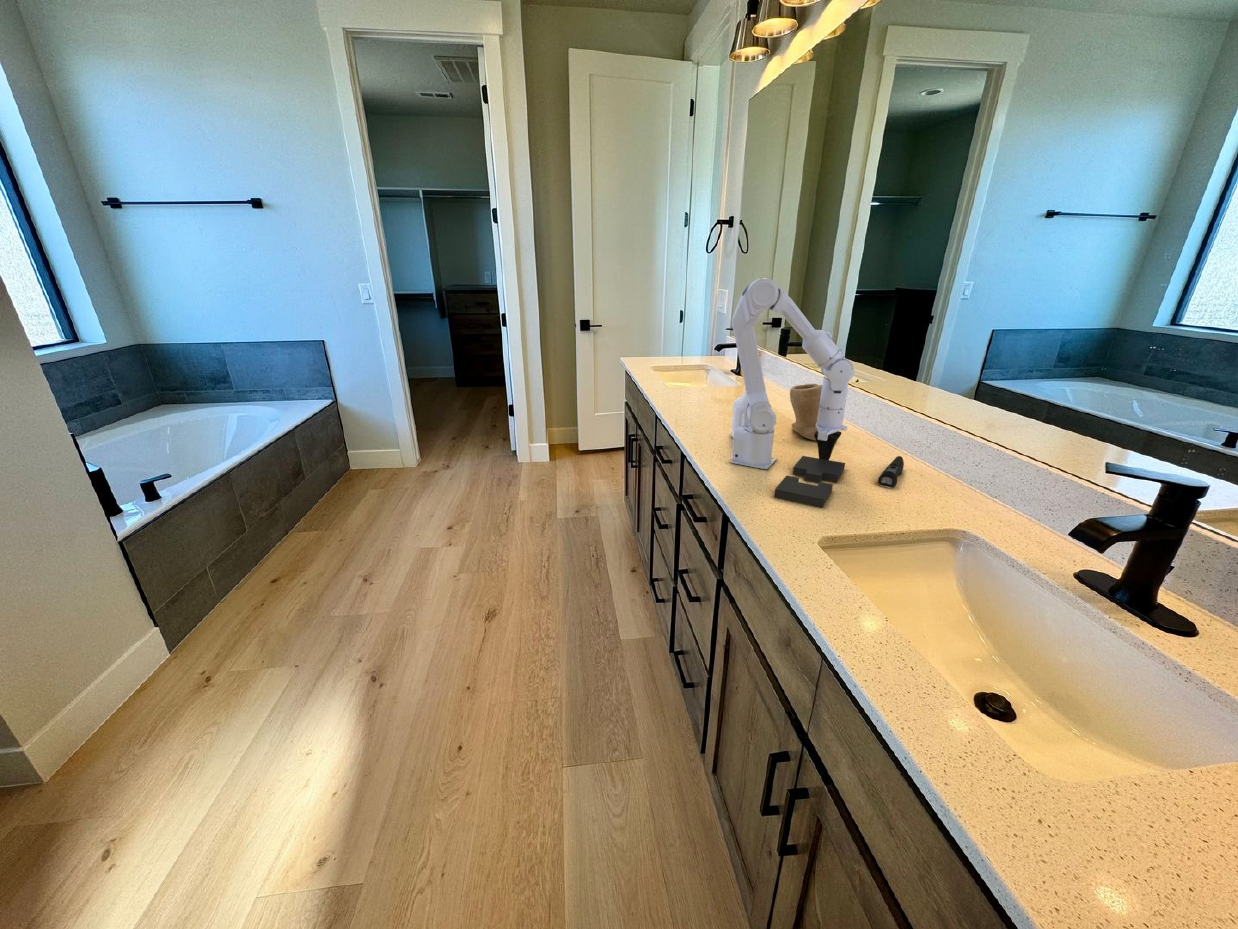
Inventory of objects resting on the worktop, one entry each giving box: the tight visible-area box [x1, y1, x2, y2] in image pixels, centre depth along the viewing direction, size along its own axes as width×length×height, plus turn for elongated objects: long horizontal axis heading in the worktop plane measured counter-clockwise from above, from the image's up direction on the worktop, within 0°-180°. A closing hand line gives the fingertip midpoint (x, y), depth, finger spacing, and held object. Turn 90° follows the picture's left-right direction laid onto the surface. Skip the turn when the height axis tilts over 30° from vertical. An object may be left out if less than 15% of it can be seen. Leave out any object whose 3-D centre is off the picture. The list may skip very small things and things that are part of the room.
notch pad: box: [773, 475, 834, 509], centre depth 106 cm, size 10×9×2 cm
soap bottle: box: [730, 351, 762, 438], centre depth 140 cm, size 9×9×25 cm
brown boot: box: [789, 383, 823, 442], centre depth 143 cm, size 15×12×15 cm
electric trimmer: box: [877, 455, 905, 489], centre depth 115 cm, size 4×16×3 cm, turn 143°
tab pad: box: [792, 455, 846, 484], centre depth 117 cm, size 10×11×2 cm
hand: (824, 460), depth 122 cm, fingers closed
